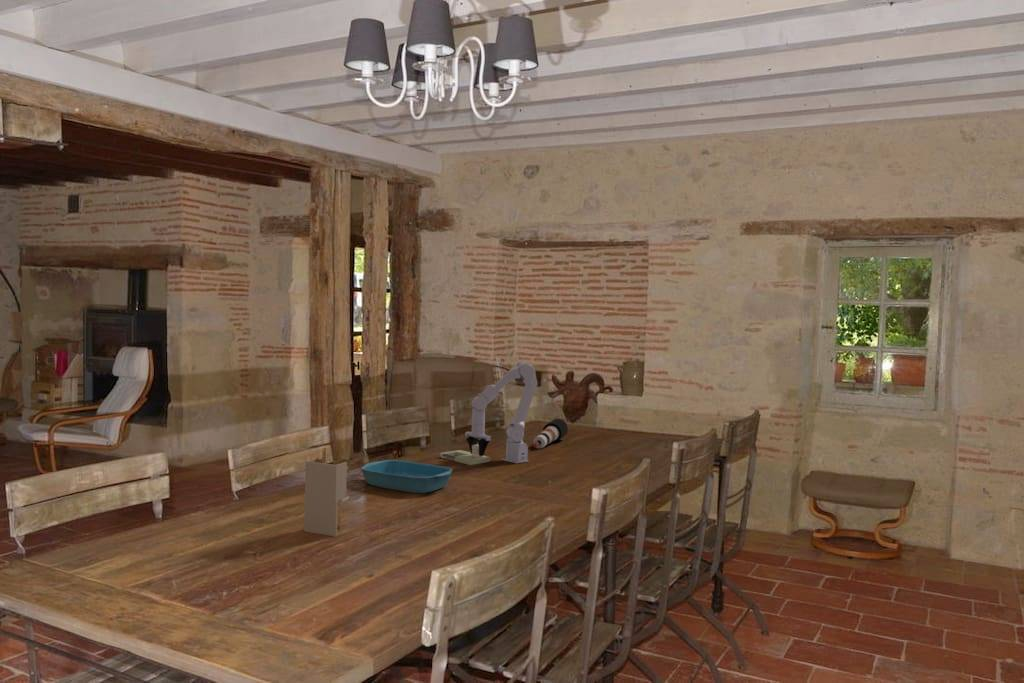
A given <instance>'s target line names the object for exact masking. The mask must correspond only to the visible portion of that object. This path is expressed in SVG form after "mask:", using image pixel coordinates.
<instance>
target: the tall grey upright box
mask: <svg viewBox="0 0 1024 683" xmlns="http://www.w3.org/2000/svg"><path fill="white" fill-rule="evenodd" d="M326 457H327V448H326V447H324V449H323V450H322V451H321V458H319V456H317V457H316V458H313V459H309V460H306V461H305V469H304V471H305V474H304V476H305V477H304V479H305V480H304V482H305V483H304V522H303V524H304V528H303V530H304V532H307V533H312V534H318V535H323V536H330V537H334V538H336V537H338V536H339V535H341V534H343V533H342V515H339V514H338V506H339V507H340V508H341V505H340V503H339V502H345V501H347V500H349V499H350V495H347V479H348V478H347V475H348V474H347V469H348V468H347V467H348V462H346V461H343V462H342V463H338V464H330V463H327V462H326V461H327V458H326Z"/></svg>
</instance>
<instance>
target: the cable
mask: <svg viewBox="0 0 1024 683" xmlns="http://www.w3.org/2000/svg"><path fill="white" fill-rule="evenodd" d="M568 428H569V427H568V424H567V422H566V421H565V420H563V419H561V418H554V419H553V420H551V421H550V422H548V423H547V424H545V425H544V426H543V427H542V431H541V432H540V433H539V434H538V435H537V436H535V437H534V438H533V442H532V444H533V445H532V447H534V448H536V449H544V448H545V447H547V446H548V445H549V444H551V443H558V441H560V440H561V439H563V438H564V437H565V436H566V435H567V434H568V431H569V429H568Z"/></svg>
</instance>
